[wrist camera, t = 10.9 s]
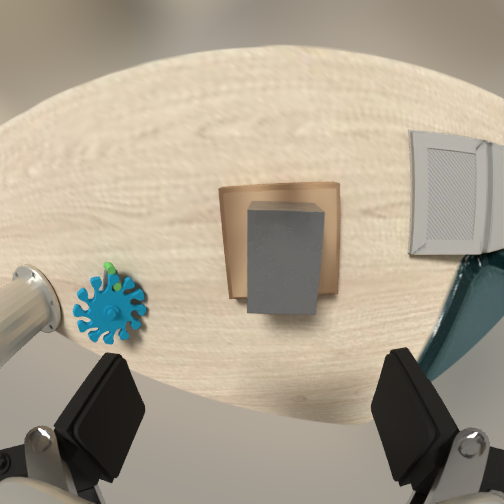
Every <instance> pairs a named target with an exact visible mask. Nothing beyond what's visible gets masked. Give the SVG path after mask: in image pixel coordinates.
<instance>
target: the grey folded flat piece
mask: <svg viewBox="0 0 504 504" xmlns="http://www.w3.org/2000/svg"><path fill="white" fill-rule="evenodd" d="M408 136H409V150H410V173H411V207H410V231H409V246H408V254H411V255H458V254H481V253H485V252H486V253H488V252H492V251H496V250H499V249H503V248H504V146H502V145H499V144H496V143H493V142H489V141H486V140H481V139H476V138H470V137H464V136H458V135H451V134H444V133H435V132H426V131H416V130H408Z"/></svg>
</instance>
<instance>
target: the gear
mask: <svg viewBox="0 0 504 504" xmlns="http://www.w3.org/2000/svg"><path fill="white" fill-rule="evenodd" d="M104 268H105V271H104V278H103V288H102V290H100V291H99V288H100V286H101V284H102V281H101V279H100V277H93V278H91V279H90V282H91V284H92V286H93V287H94V291H95V293H94V298H93V299H88V293H87V291H86V289H85V288H82V289H80V290H79V291H78V292H77V295H78V298H79V299H80V300H82V301H84V302H86V303H87V304H88V306H89V309H88V310H87V311H84V310H83V309H82V308H81V306H80V305H78V304H75V306H74V309H73V314H74V316H76V317H81V316H84V317H87V318H89V319H91V321H90V322H85V321H83V320H79V321H78V322H77V324H78V327H79V330H80V332H85V331H86V330H87V329H89V328H96V327H97V328H98V330H96V331H90V332H89V333H88V336H89V338H90V339H91V340H92V341H93V342H97V341H98V338H99V337H100V335H101V334H103V333H104V332H106V331H109V333H108V334H106V335H104V337H103V340H104V342H105V343H106V344H113V342H114V340H113V337H114V334H115V332H116V330H117V329H119V328H121V330H120V331H119V337H120V338H121V340H125V339H128V338H129V334H128V333H127V331H126V329H125V326H126V322H127V321H131V322H130V324H131V326H132V328H133V329H134V330H136V329H138V328H139V327H140V326H141V323H140V322H139V320H138V319H135V318H133V317H132V316H131V312H132V311H133V310H136V311H137V312H138V314H139V315H141V316H143V315H144V314H145V312H146V309H147V308H146V307H145V306H144V305H143V304H139V305H135V304H132V303H130V300H131V299H133V298H135V299H137V300H139V301H141V300H143V299H144V293H143V291H142V290H141V289H137V290H135V291H134V292H132V293H123V291H124V290H125V289H132V288H134V286H135V284H134V282H133V281H132V279H131V278H130V277H126V278H125V280H124V282H123V283H122V284H120V283H119V276H118V275H117V274H118V273H117V270H116V269H115V267H114V266H113V264H112V263H110V262H108V263H104Z"/></svg>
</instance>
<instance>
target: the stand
mask: <svg viewBox="0 0 504 504" xmlns="http://www.w3.org/2000/svg"><path fill="white" fill-rule="evenodd" d="M219 200H220V211H221V222H222V233H223V243H224V253H225V263H226V272H227V281H228V290H229V299H247V210H248V208H249V206H250V204H251V201H283V202H309V203H315V204H316V205H317V206H318V207H320V208H321V209H322V210H323V211H324V212H325V220H324V234H323V247H322V258H321V269H320V278H319V288H318V295H330V294H338V278H339V254H340V183H337V182H301V183H276V184H257V185H241V186H228V187H221V188H219Z"/></svg>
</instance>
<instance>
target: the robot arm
mask: <svg viewBox="0 0 504 504" xmlns="http://www.w3.org/2000/svg"><path fill="white" fill-rule="evenodd" d="M60 319H61V312H60V306H59V303H58V299H57V297H56V294H55V292H54V290H53V288H52V286H51V285H50V283H49V282H48V280H47V279H46V278H45V276H44V275H43V274H42V273H41V272H40V271H39V270H38V269H36V268H35V267H33V266H31V265H26V264H25V265H22V266H20V267H18V268H17V269H16V270H15V272H14V274H13V278H12V282H10V283H9V284H7V285H6V286H4V287H2V288H1V289H0V368H1V367H2V366H3V365H4V364H5V363H6V362H7V361H8V360H9V359H10V358H11V357H13V355H15V354H16V352H18V351H19V350H20V349H21V348H22V347H23V346H24V345H25V344H26V343H27V342H28V341H30V340H31V339H32V338H33V337H34V336H35V335H36V334H37V333H38V332H39V331H42V332H45V333H50V332H53V331H54V330H55V329H56V328H57V327H58V326H59V324H60ZM371 412H372V415H373V418H374V420H375V423H376V426H377V429H378V432H379V435H380V438H381V441H382V444H383V447H384V450H385V454H386V457H387V460H388V463H389V466H390V470H391V473H392V476H393V479H394V480H395V481H398V482H399V485H400V486H403V485H407V484H410V483H411V485H412V489H413V492H412V494H411V496H410V498H409V500H408V501H407V503H406V504H504V450H502V449H497V448H494V447H490V442H489V439H488V437H487V435H486V434H485V433H484V432H483V431H482V430H480V429H477V428H467V429H464V430H462V431H459V429H458V427H457V425H456V424H455V422H454V420H453V418H452V417H451V415H450V413H449V411H448V410H447V408H446V406H445V404H444V403H443V401H442V399H441V398H440V396H439V394H438V393H437V391H436V389H435V388H434V386H433V385H432V383H431V382H430V380H429V379H427V377H426V375H425V374H424V372H423V371H422V369H421V368H420V366H419V365H418V363H417V361H416V360H415V358H414V357H413V355H412V354H411V352H410V351H409V349H408V348H406V347H405V348H399V349H393V350H391V351H390V354H387V355H386V357H385V360H384V364H383V368H382V371H381V375H380V378H379V381H378V385H377V388H376V391H375V394H374V397H373V400H372V403H371ZM144 414H145V405H144V403H143V401H142V398H141V396H140V394H139V392H138V389H137V387H136V385H135V382H134V380H133V377H132V375H131V372H130V370H129V367H128V364H127V362H126V360H125V359H124V358H123V357H122V356H121V355H120V354H115V353H108V352H107V353H105V354H104V355H103V356H102V358H101V359H100V360H99V362H98V363H97V364H96V366H95V367H94V368H93V370H92V371H91V372H90V374H89V375H88V377H87V378H86V379H85V381H84V382H83V383H82V385H81V386H80V388H79V389H78V391H77V392H76V393H75V395H74V396H73V398H72V399H71V400H70V402H69V403H68V405H67V406H66V408H65V409H64V411H63V412H62V414H61V415H60V417H59V418H58V420H57V421H56V423H55V424H54V427H55V429H54V431H53V430H52V429H51V428H49V427H47V426H37V427H34V428H33V429H31V430H30V431H29V432H28V433H27V435H26V437H25V441H24V444H23V445H18V446H14V447H11V448H6V449H3V450H0V504H106V503H105V501H104V498H103V496H102V493H101V491H100V489H99V486H98V481H99V479H101V480H104V481H107V482H110V483H112V482H113V480H114V478H117V477H118V476H119V473H120V471H121V468H122V466H123V463H124V461H125V459H126V456H127V454H128V451H129V449H130V447H131V444H132V442H133V440H134V437H135V435H136V432H137V430H138V428H139V425H140V423H141V421H142V419H143V416H144Z"/></svg>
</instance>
